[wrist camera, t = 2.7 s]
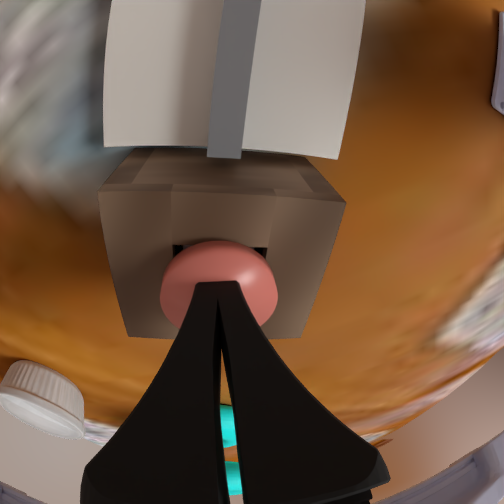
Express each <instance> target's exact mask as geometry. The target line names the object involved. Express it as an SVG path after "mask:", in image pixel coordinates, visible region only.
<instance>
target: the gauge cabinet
mask: <svg viewBox="0 0 504 504" xmlns="http://www.w3.org/2000/svg"><path fill="white" fill-rule="evenodd" d="M97 195H98V203H99V210H100V217H101V223H102V229H103V235H104V240H105V246H106V251H107V256H108V261H109V265H110V270H111V274H112V279H113V283H114V287H115V291H116V295H117V299H118V302H119V306H120V310H121V313H122V317H123V320H124V324H125V327H126V330H127V334H128V337H141V338H158V339H175V338H176V336H177V334H178V332H179V328H177V327H176V326H175V325H173V324H172V323H171V322H170V321H169V320H168V318H167V317H166V316H165V314H164V312H163V310H162V308H161V304H160V292H161V286H162V280H163V275H164V272H165V269H166V267H167V266H168V264H169V263H170V261H171V260H172V259H173V258H174V257H175V256H176V255H175V246H174V245H195V244H198V243H202V242H208V241H231V242H236V243H239V244H242V245H245V246H247V247H263V252H262V256H263V257H264V259H265V260H266V261H267V262H268V264H269V265H270V267H271V270H272V272H273V276H274V280H275V283H276V287H277V292H278V300H277V305H276V308H275V310H274V312H273V314H272V315H271V316H270V318H269V319H268V320H267V321H266V322H265V323H264V324H262V325H261V326H260V328H261V329H262V331H263V333H264V334H265V336H266V337H267V339H286V338H300V337H301V335H302V332H303V330H304V327H305V325H306V322H307V319H308V317H309V314H310V311H311V309H312V306H313V303H314V301H315V298H316V295H317V292H318V289H319V287H320V284H321V281H322V278H323V275H324V272H325V269H326V266H327V263H328V260H329V257H330V254H331V251H332V248H333V245H334V242H335V239H336V236H337V233H338V229H339V226H340V223H341V220H342V216H343V213H344V209H345V206H346V202H345V201H344V199H343V198H342V197H341V196H340V195H339V194H338V193H337V191H336V190H335V189H334V188H333V187H332V186H331V185H330V184H329V182H328V181H327V180H326V179H325V178H324V177H323V176H322V175H321V174H320V173H319V171H318V170H317V169H316V168H315V167H314V166H313V165H312V164H311V163H310V162H309V161H308V160H307V159H306V158H305V157H301V156H293V155H284V154H274V153H264V152H253V151H241V159H234V158H217V157H207V149H203V148H135V149H134V150H133V151H132V152H131V153H130V154H129V155H128V156H127V157H126V158H125V160H124V161H123V162H122V163H121V164H120V165H119V166H118V167H117V169H116V170H115V171H114V172H113V173H112V174H111V175H110V177H109V178H108V179H107V180H106V181H105V183H104V184H103V185H102V186H101V187H100V189H99V190H98V191H97Z"/></svg>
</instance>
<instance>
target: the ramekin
mask: <svg viewBox="0 0 504 504" xmlns="http://www.w3.org/2000/svg"><path fill="white" fill-rule="evenodd" d="M0 405H1V406H2V407H3V408H4V409H5V410H6V411H7V412H9V413H10V414H11V415H13V416H14V417H16V418H17V419H19V420H21V421H22V422H24V423H26V424H28V425H29V426H32V427H34V428H36V429H38V430H40V431H42V432H45V433H47V434H50V435H53V436H56V437H61V438H66V439H73V440H77V439H82V438H83V437H84V436H85V426H84V400H83V396H82V394H81V392H80V390H79V389H78V388H77V386H76V385H75V384H74V383H73V382H71V381H70V380H69V379H67V378H66V377H65V376H63V375H61V374H60V373H58V372H56V371H55V370H53V369H51V368H49V367H46V366H44V365H42V364H39V363H36V362H33V361H28V360H19V361H17V362H15V363H13V364H12V365H11V366H10V368H9V369H8V371H7V373H6V375H5V377H4V378H3V380H2V382H1V384H0Z"/></svg>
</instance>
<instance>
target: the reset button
mask: <svg viewBox="0 0 504 504" xmlns="http://www.w3.org/2000/svg"><path fill="white" fill-rule="evenodd" d="M234 280H236V281H237V282H239V283H240V287H241V290H242V292H243V295H244V297H245V299H246V302H247V304H248V306H249V308H250V310H251V312H252V314H253V316H254V317H255V319H256V321H257V323H258V324H259V326H261V325H262V324H264V323H265V322H266V321H267V320H268V319H269V318H270V316H271V315H272V314H273V312H274V310H275V308H276V305H277V300H278V292H277V287H276V283H275V280H274V276H273V272H272V270H271V267H270V265H269V264H268V262H267V261H266V260H265V259H264V257H263V256H261V255H260V254H259V253H258V252H256V251H255V250H254V247H247V246H245V245H242V244H239V243H236V242H231V241H208V242H202V243H198V244H195V245H183V251H181V252H180V253H178V254H177V255H176V256H175V257H174V258H173V259H172V260H171V261H170V263H169V264H168V266H167V267H166V269H165V272H164V275H163V280H162V286H161V292H160V304H161V308H162V310H163V312H164V314H165V316H166V317H167V318H168V320H169V321H170V322H171V323H172V324H173V325H175V326H176V327H177V328H179V329H180V327H181V325H182V322H183V320H184V318H185V315H186V313H187V310H188V307H189V305H190V302H191V299H192V296H193V292H194V288H195V285H196V284H197V283H198V282H214V281H234Z"/></svg>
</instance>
